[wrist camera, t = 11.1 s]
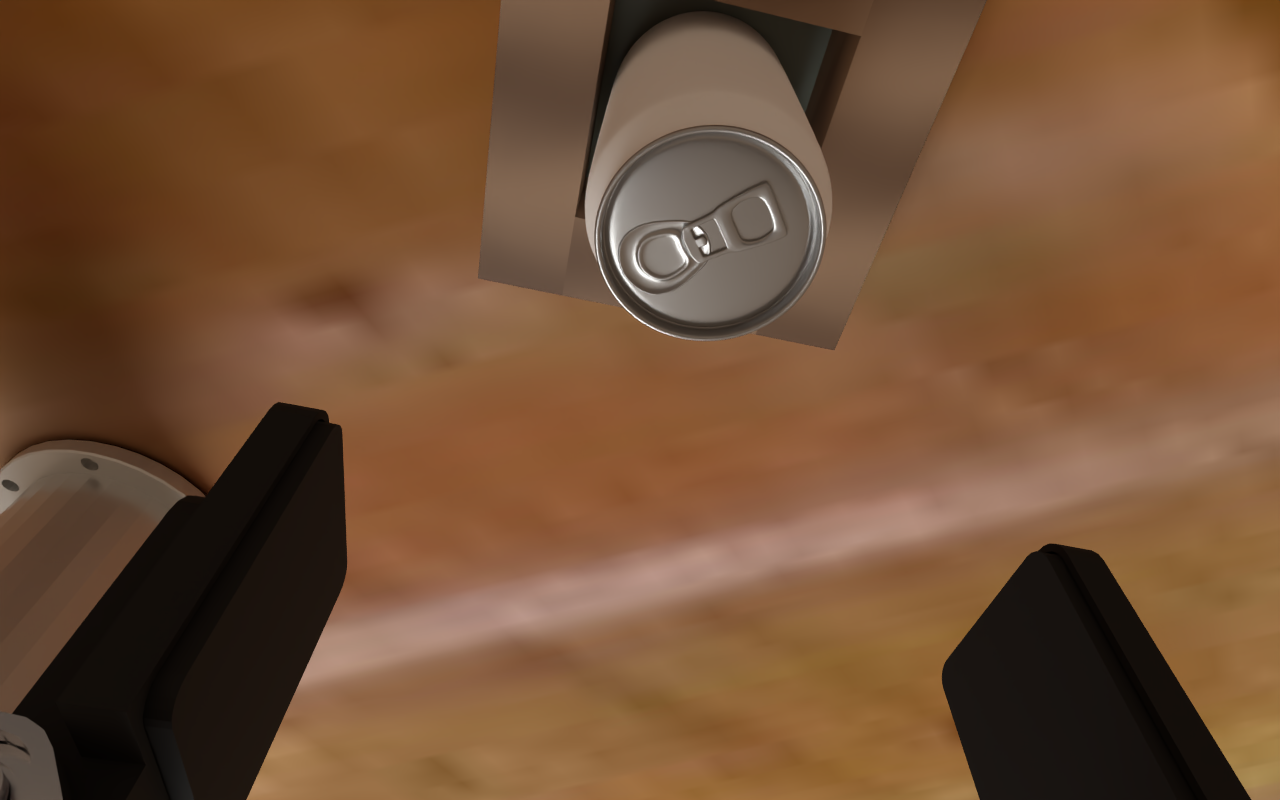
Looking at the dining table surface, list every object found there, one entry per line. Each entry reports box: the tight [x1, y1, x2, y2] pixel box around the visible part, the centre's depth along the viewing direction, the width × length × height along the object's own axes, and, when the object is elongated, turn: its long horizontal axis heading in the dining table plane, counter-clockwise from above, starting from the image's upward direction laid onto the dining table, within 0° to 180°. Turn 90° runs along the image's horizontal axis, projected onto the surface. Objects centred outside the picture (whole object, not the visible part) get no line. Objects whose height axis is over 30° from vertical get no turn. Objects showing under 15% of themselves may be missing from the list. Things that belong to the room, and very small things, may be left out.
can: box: [585, 11, 832, 341], centre depth 23 cm, size 6×6×12 cm
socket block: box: [478, 0, 987, 350], centre depth 26 cm, size 14×14×4 cm
